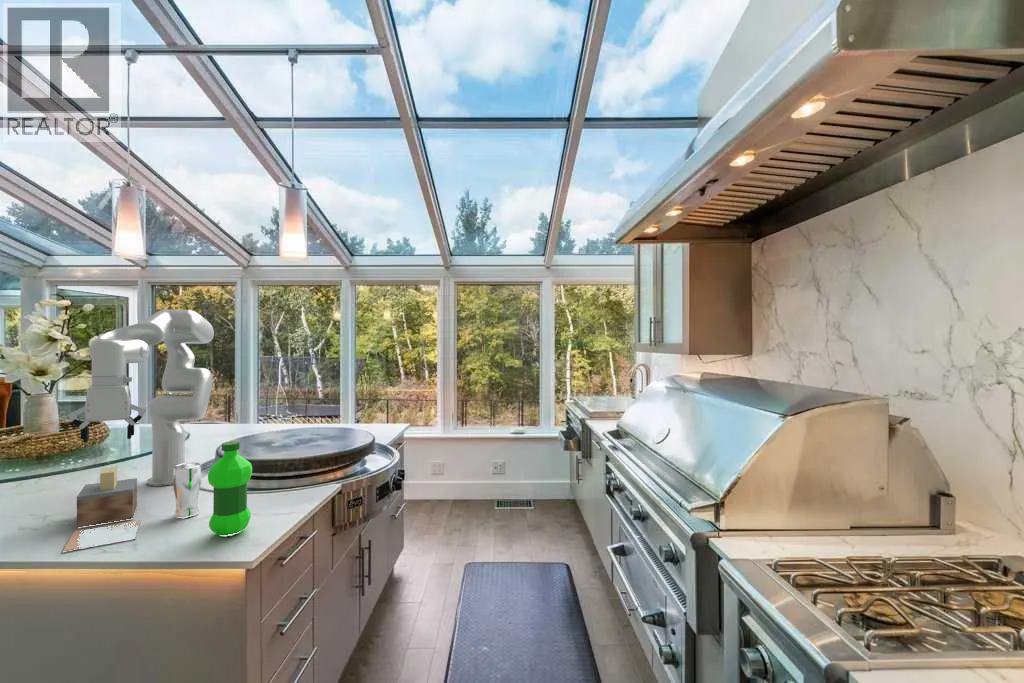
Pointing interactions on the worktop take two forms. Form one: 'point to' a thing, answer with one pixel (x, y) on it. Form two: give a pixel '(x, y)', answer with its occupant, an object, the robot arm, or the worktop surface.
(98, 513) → the walnut box
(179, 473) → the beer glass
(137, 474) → the worktop surface
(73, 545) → the terracotta mat
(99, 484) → the lid
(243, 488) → the plastic bottle
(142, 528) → the worktop surface
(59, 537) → the worktop surface
